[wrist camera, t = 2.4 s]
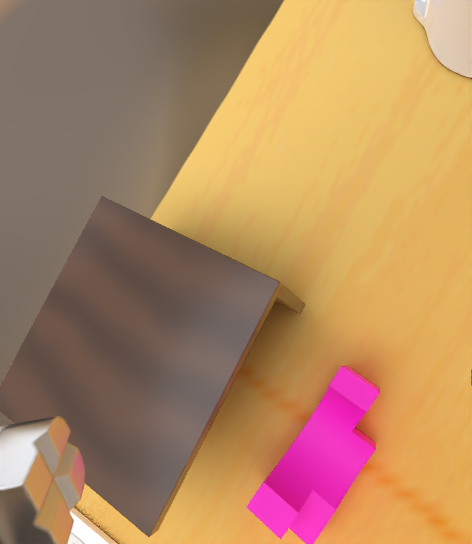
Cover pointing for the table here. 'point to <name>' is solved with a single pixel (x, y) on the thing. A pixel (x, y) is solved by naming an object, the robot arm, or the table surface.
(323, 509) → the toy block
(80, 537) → the photo frame
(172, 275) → the shelf
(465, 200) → the table surface
